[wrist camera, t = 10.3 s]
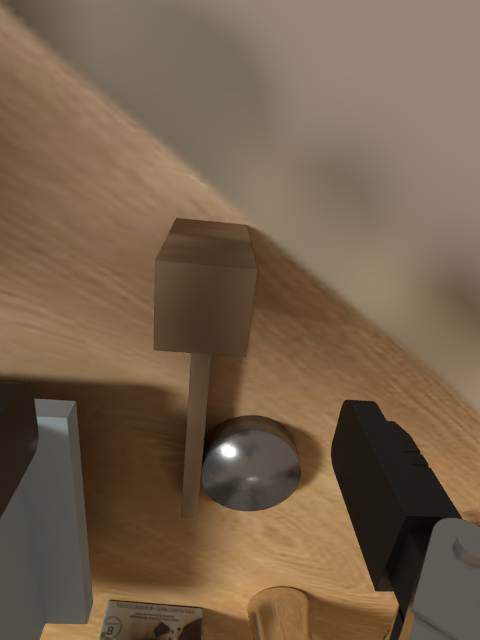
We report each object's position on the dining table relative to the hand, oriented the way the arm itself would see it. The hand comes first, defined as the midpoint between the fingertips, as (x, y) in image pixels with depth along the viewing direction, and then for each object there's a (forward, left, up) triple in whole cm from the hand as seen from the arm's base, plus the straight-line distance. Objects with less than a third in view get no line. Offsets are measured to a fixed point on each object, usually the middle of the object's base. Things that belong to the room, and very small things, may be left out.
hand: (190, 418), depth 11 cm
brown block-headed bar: (0, -9, -15) cm, 17 cm away
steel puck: (+4, -15, -15) cm, 22 cm away
